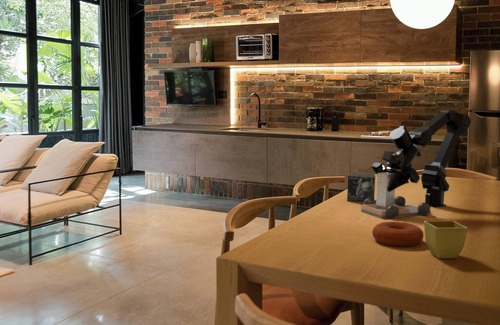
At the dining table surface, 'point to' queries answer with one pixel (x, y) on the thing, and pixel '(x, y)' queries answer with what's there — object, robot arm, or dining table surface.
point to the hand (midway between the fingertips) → (383, 189)
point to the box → (360, 187)
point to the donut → (397, 234)
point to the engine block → (384, 190)
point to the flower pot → (445, 238)
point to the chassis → (394, 209)
